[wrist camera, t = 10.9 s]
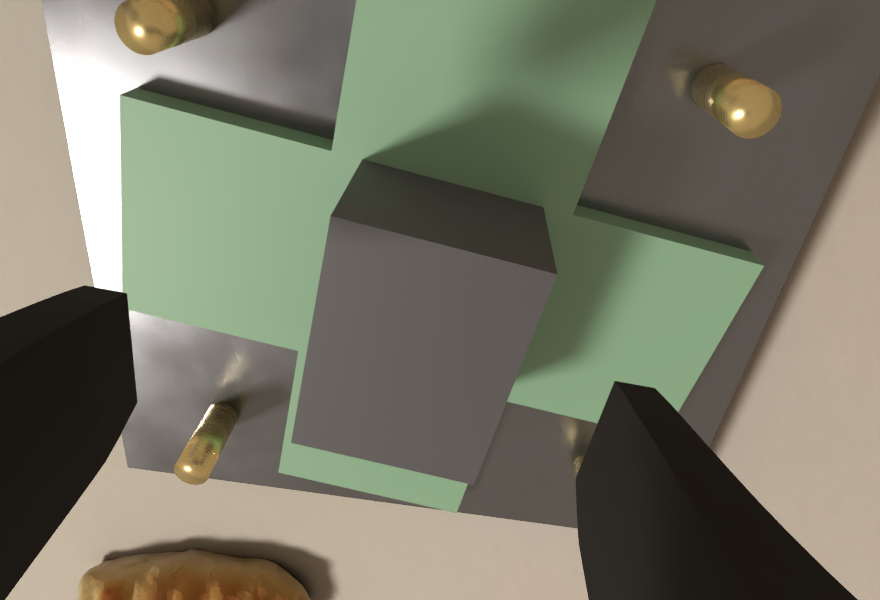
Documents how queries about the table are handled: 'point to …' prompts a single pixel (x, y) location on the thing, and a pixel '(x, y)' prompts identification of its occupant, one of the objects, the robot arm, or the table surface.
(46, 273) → the table surface
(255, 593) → the pastry
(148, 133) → the board
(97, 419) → the robot arm
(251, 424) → the chassis
